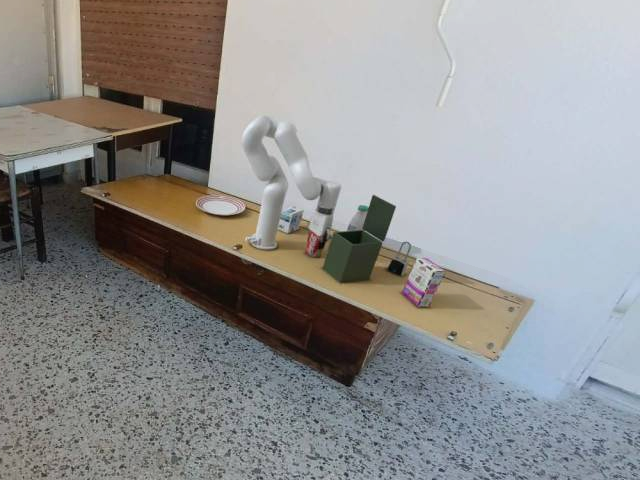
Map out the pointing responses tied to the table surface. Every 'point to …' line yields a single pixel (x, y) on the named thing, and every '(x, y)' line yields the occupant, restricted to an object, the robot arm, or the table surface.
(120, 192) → the table surface
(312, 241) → the soda can
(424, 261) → the candy bar box
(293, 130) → the robot arm
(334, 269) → the bin
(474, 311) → the table surface
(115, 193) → the table surface
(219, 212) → the dinner plate
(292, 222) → the light bulb box
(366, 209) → the milk bottle
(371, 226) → the bin lid
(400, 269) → the padlock
